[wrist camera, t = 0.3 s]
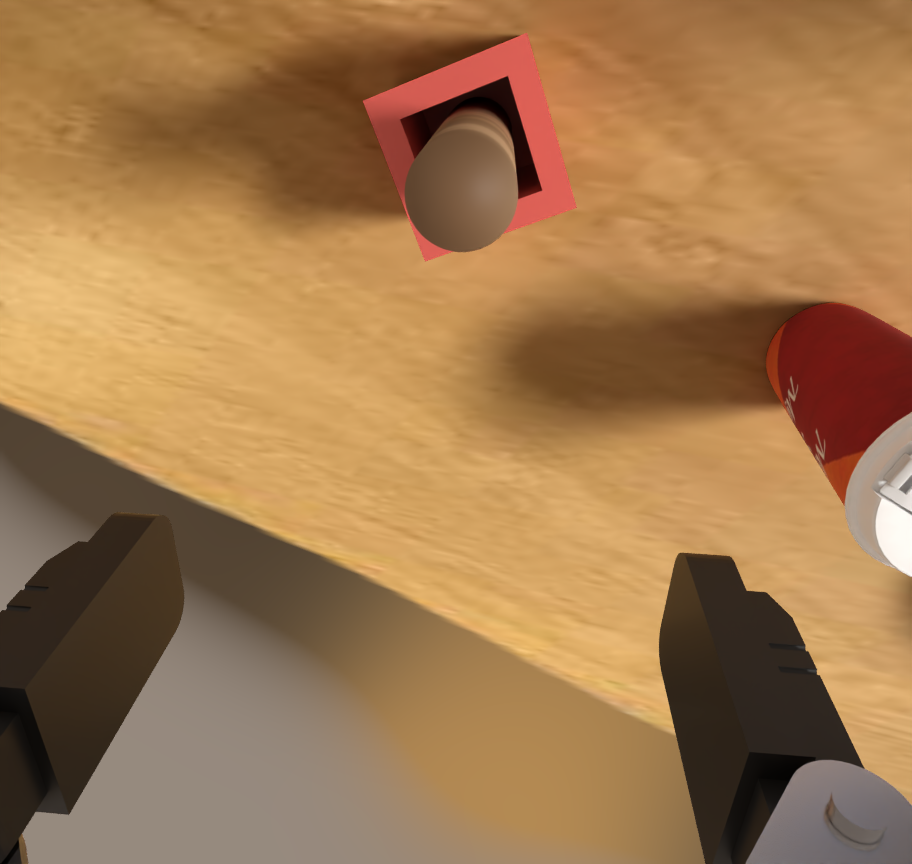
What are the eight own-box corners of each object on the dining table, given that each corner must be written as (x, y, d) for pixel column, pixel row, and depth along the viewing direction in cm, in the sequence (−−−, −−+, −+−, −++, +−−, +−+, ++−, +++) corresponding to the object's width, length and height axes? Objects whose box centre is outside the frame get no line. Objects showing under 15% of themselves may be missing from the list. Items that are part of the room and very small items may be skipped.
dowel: (499, 86, 31) (496, 116, 18) (521, 155, 33) (532, 230, 19) (435, 111, 32) (387, 159, 19) (458, 178, 33) (429, 267, 20)
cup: (521, 35, 31) (526, 32, 24) (561, 173, 34) (576, 207, 27) (393, 88, 32) (362, 100, 25) (440, 217, 35) (425, 261, 28)
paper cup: (714, 386, 38) (814, 549, 26) (804, 255, 35) (970, 370, 23) (838, 443, 39) (990, 624, 27) (937, 321, 36) (1164, 465, 24)
